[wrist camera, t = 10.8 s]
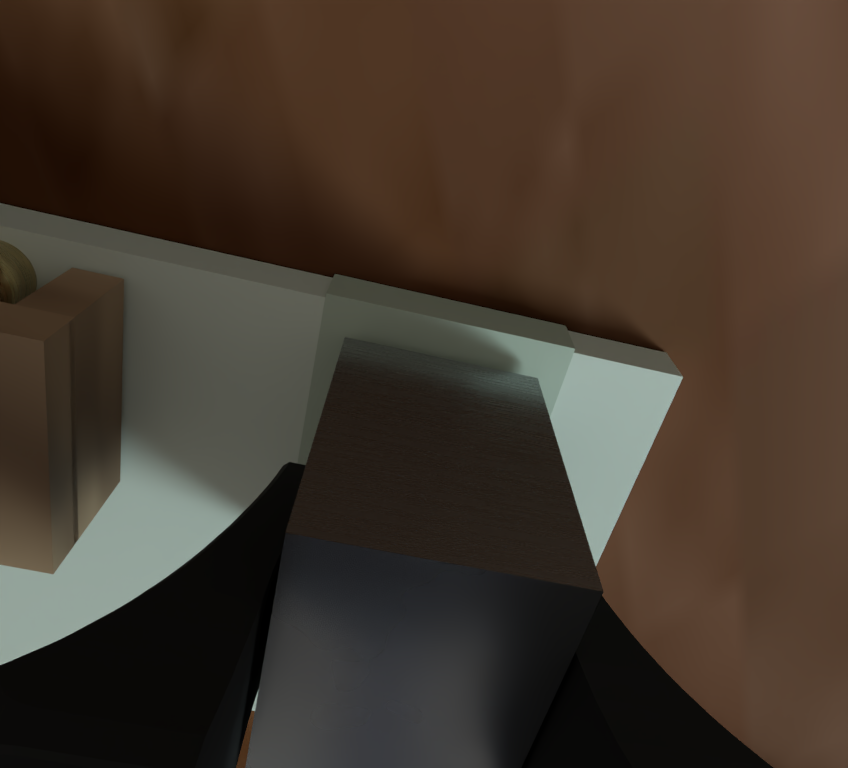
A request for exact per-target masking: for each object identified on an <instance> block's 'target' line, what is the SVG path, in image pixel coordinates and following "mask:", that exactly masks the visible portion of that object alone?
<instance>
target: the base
mask: <svg viewBox="0 0 848 768" xmlns="http://www.w3.org/2000/svg"><path fill="white" fill-rule="evenodd" d="M0 240H2V241H5V242H7V243H9V244H11V245H13V246H15V247H16V248H18V249H19V250H20V251H21V252H22V253H23V254H24V255H25V256H26V257H27V258H28V259H29V261H30V262H31V264H32V266H33V267H34V270H35V273H36V277H37V288H36V290H38V289H39V288H41V287H43V286H44V285H46V284H47V283H49V282H50V281H52V280H53V279H55V278H57V277H58V276H60V275H61V274H63V273H64V272H66V271H68V270H69V269H71V268H77V269H81V270H86V271H91V272H95V273H100V274H104V275H109V276H113V277H118V278H123V279H124V311H123V363H122V416H121V469H120V482H119V484H118V485H117V486H116V488H115V489H114V491H113V492H112V493H111V495H110V496H109V498H108V499H107V500H106V502H105V503H104V505H103V506H102V507H101V509H100V510H99V512H98V513H97V514H96V516H95V517H94V518H93V520H92V521H91V523H90V524H89V525H88V527H87V528H86V530H85V531H84V532H83V534H82V535H81V537H80V538H79V539H78V541H77V542H76V544H75V545H74V546H73V548H72V549H71V550H70V552H69V553H68V555H67V556H66V557H65V559H64V560H63V562H62V563H61V564H60V566H59V567H58V569H57V570H56V571H55V573H54V574H49V573H43V572H38V571H32V570H27V569H21V568H16V567H10V566H5V565H0V665H2V664H4V663H7V662H9V661H12V660H14V659H16V658H19V657H21V656H23V655H26V654H28V653H30V652H33V651H35V650H37V649H40V648H42V647H44V646H47V645H49V644H51V643H53V642H56V641H58V640H60V639H62V638H64V637H66V636H68V635H70V634H72V633H74V632H75V631H77V630H79V629H81V628H83V627H85V626H87V625H88V624H90V623H92V622H94V621H96V620H98V619H100V618H101V617H103V616H105V615H107V614H109V613H111V612H113V611H114V610H116V609H118V608H120V607H121V606H123V605H125V604H126V603H128V602H129V601H131V600H133V599H134V598H136V597H137V596H139V595H140V594H142V593H143V592H145V591H147V590H148V589H150V588H151V587H153V586H154V585H156V584H157V583H159V582H160V581H162V580H163V579H165V578H166V577H167V576H169V575H170V574H171V573H173V572H174V571H176V570H177V569H178V568H180V567H181V566H182V565H184V564H185V563H186V562H188V561H189V560H190V559H191V558H193V557H194V556H195V555H196V554H198V553H199V552H200V551H201V550H202V549H204V548H205V547H206V546H207V545H208V544H209V543H210V542H212V541H213V540H214V539H215V538H216V537H217V536H218V535H219V534H221V533H222V532H223V531H224V530H225V529H226V528H227V527H229V526H230V525H231V524H232V523H233V522H234V521H235V520H236V519H237V518H238V517H239V516H240V515H241V514H242V513H243V512H244V511H245V510H246V509H247V508H248V507H249V506H250V505H251V504H252V503H253V502H254V500H255V499H256V498H257V497H258V496H259V495H260V494H261V493H262V492H263V490H264V489H265V488H266V487H267V486H268V485H269V483H270V482H271V481H272V480H273V478H274V477H275V476H276V475H277V473H278V472H279V470H280V469H281V468H282V466H283V465H285V464H287V463H288V462H292V463H297V464H302V465H306V463H307V460H308V456H309V453H310V450H311V447H312V443H313V440H314V437H315V433H316V430H317V427H318V423H319V420H320V417H321V414H322V410H323V407H324V404H325V400H326V397H327V394H328V391H329V387H330V384H331V381H332V377H333V374H334V371H335V368H336V364H337V361H338V358H339V354H340V351H341V348H342V345H343V341H344V338H345V337H348V338H352V339H357V340H362V341H366V342H371V343H376V344H380V345H385V346H390V347H394V348H399V349H404V350H408V351H413V352H418V353H423V354H427V355H432V356H437V357H441V358H446V359H451V360H455V361H460V362H465V363H469V364H474V365H479V366H483V367H488V368H493V369H498V370H502V371H507V372H512V373H516V374H521V375H526V376H530V377H535V378H538V381H539V384H540V387H541V390H542V394H543V397H544V400H545V403H546V407H547V410H548V413H549V416H550V420H551V423H552V426H553V429H554V433H555V436H556V439H557V442H558V446H559V449H560V452H561V455H562V459H563V462H564V465H565V468H566V472H567V475H568V478H569V481H570V485H571V488H572V491H573V494H574V498H575V501H576V504H577V507H578V511H579V514H580V517H581V520H582V524H583V527H584V530H585V533H586V537H587V540H588V543H589V546H590V550H591V553H592V556H593V559H594V563H595V566H596V565H597V563H598V561H599V558H600V556H601V554H602V552H603V550H604V548H605V545H606V543H607V541H608V539H609V537H610V535H611V532H612V530H613V528H614V526H615V524H616V522H617V519H618V517H619V515H620V513H621V511H622V508H623V506H624V504H625V502H626V500H627V498H628V495H629V493H630V491H631V489H632V487H633V485H634V482H635V480H636V478H637V476H638V474H639V472H640V469H641V467H642V465H643V463H644V461H645V459H646V456H647V454H648V452H649V450H650V448H651V446H652V443H653V441H654V439H655V437H656V435H657V433H658V430H659V428H660V426H661V424H662V422H663V420H664V417H665V415H666V413H667V411H668V409H669V406H670V404H671V402H672V400H673V398H674V396H675V393H676V391H677V389H678V387H679V385H680V383H681V380H682V378H683V376H682V375H681V373H680V372H679V370H678V369H677V367H676V366H675V364H674V363H673V362H672V360H671V359H670V357H669V356H668V354H667V353H666V352H661V351H657V350H652V349H648V348H643V347H639V346H634V345H630V344H626V343H621V342H617V341H612V340H608V339H603V338H599V337H594V336H590V335H585V334H581V333H577V332H572V331H568V330H567V327H566V326H565V325H560V324H556V323H552V322H547V321H543V320H538V319H534V318H529V317H525V316H520V315H516V314H512V313H507V312H503V311H498V310H494V309H489V308H485V307H480V306H476V305H472V304H467V303H463V302H458V301H454V300H449V299H445V298H440V297H436V296H432V295H427V294H423V293H418V292H414V291H409V290H405V289H400V288H396V287H392V286H387V285H383V284H378V283H374V282H369V281H365V280H360V279H356V278H352V277H347V276H343V275H338V274H334V276H333V278H332V277H327V276H323V275H318V274H314V273H309V272H305V271H300V270H296V269H292V268H287V267H283V266H278V265H274V264H269V263H265V262H260V261H256V260H251V259H247V258H243V257H238V256H234V255H229V254H225V253H220V252H216V251H211V250H207V249H202V248H198V247H194V246H189V245H185V244H180V243H176V242H171V241H167V240H162V239H158V238H153V237H149V236H145V235H140V234H136V233H131V232H127V231H122V230H118V229H113V228H109V227H104V226H100V225H96V224H91V223H87V222H82V221H78V220H73V219H69V218H64V217H60V216H56V215H51V214H47V213H42V212H38V211H33V210H29V209H24V208H20V207H15V206H11V205H7V204H2V203H0ZM258 691H259V690H258ZM257 697H258V692H257V695H256V698H255V701H254V704H253V708H252V710H253V711H255V709H256V703H257Z"/></svg>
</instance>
